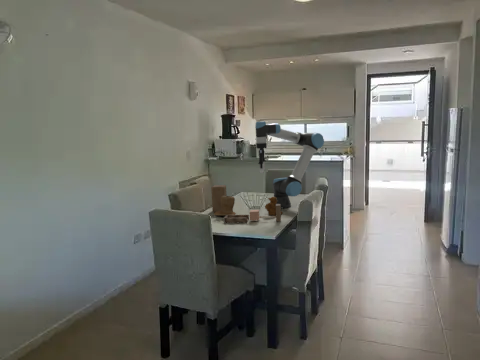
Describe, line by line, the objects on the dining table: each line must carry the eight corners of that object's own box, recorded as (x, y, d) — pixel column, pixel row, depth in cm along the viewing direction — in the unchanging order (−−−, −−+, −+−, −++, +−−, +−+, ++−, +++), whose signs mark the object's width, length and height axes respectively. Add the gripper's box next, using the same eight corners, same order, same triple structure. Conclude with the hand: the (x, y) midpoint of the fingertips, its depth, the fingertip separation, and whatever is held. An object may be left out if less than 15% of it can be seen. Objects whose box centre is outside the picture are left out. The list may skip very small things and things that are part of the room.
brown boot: (237, 213, 302) (236, 194, 300) (233, 217, 291) (232, 197, 289) (218, 213, 306) (217, 194, 304) (213, 217, 295) (212, 197, 293)
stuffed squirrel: (283, 213, 297) (282, 196, 296) (275, 217, 285) (275, 199, 283) (270, 212, 302) (270, 195, 300) (263, 216, 290) (262, 198, 288)
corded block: (280, 219, 278) (280, 203, 276) (280, 221, 272) (280, 205, 270) (251, 219, 281) (250, 204, 279) (249, 221, 275) (249, 206, 274)
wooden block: (224, 212, 311) (223, 186, 308) (212, 212, 313) (210, 186, 310) (227, 209, 320) (226, 184, 318) (215, 209, 322) (214, 184, 320)
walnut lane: (249, 219, 283) (248, 214, 283) (247, 222, 273) (246, 218, 273) (226, 219, 286) (226, 214, 285) (224, 223, 276) (223, 218, 275)
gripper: (257, 142, 305) (259, 169, 308) (254, 144, 280) (255, 173, 283) (267, 141, 304) (268, 169, 307) (265, 143, 279) (266, 173, 282)
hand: (262, 171), depth 295 cm, fingers open, 13 cm apart
